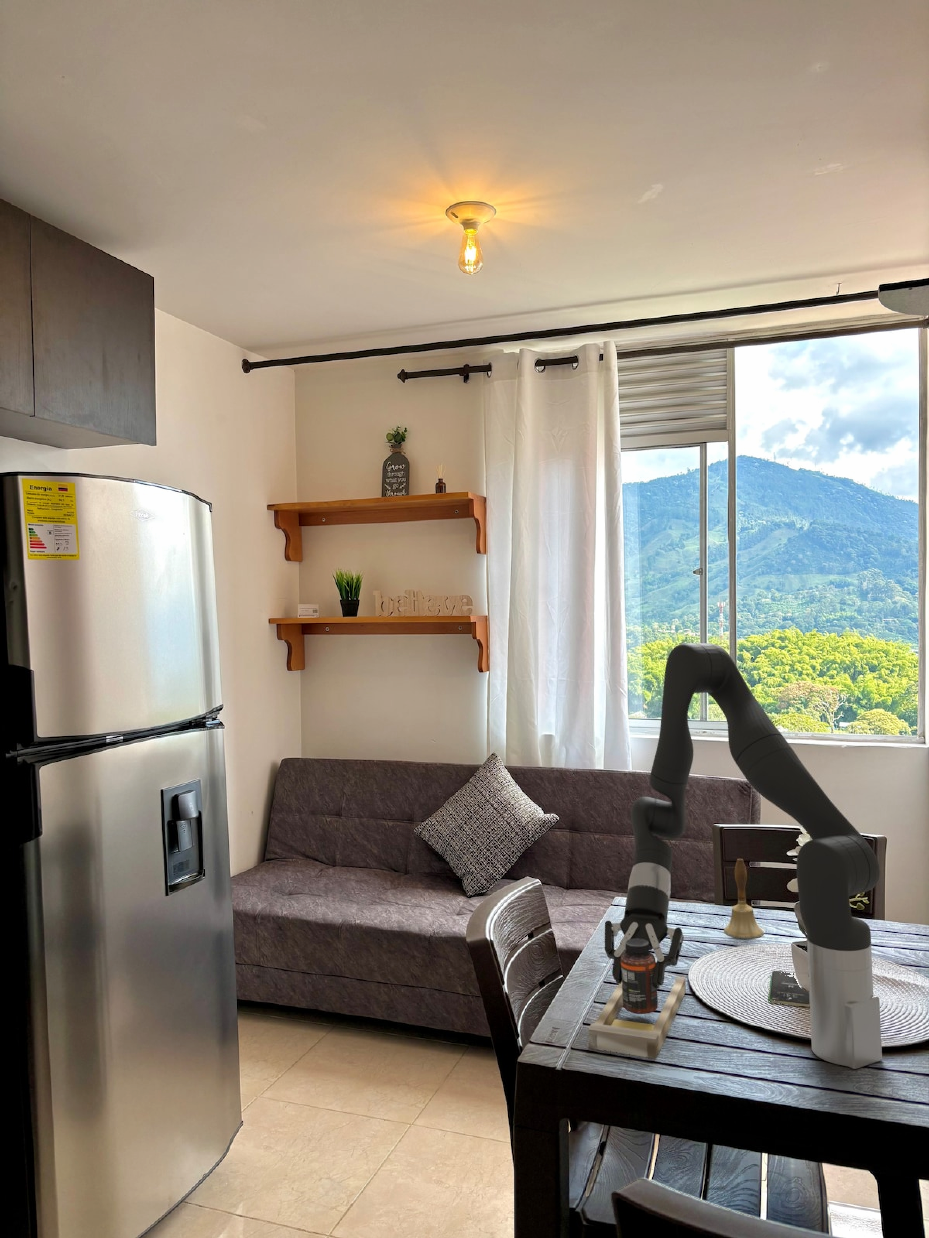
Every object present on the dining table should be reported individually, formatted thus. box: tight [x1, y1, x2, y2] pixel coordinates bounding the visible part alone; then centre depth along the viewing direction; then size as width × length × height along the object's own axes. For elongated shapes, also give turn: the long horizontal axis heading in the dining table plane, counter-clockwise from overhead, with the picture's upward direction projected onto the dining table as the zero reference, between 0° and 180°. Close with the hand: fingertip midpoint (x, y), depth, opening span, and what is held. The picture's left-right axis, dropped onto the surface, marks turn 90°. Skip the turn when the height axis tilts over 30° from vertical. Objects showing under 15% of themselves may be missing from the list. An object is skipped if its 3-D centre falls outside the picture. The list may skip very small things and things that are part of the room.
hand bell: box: [723, 858, 764, 939], centre depth 192 cm, size 8×8×16 cm
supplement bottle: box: [621, 938, 659, 1015], centre depth 150 cm, size 6×6×11 cm
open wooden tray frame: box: [587, 976, 687, 1060], centre depth 150 cm, size 28×11×3 cm, turn 157°
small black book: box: [767, 970, 810, 1008], centre depth 160 cm, size 8×1×15 cm
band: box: [611, 1018, 655, 1032], centre depth 145 cm, size 5×8×1 cm, turn 67°
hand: (637, 983), depth 149 cm, fingers closed on supplement bottle, 6 cm apart
